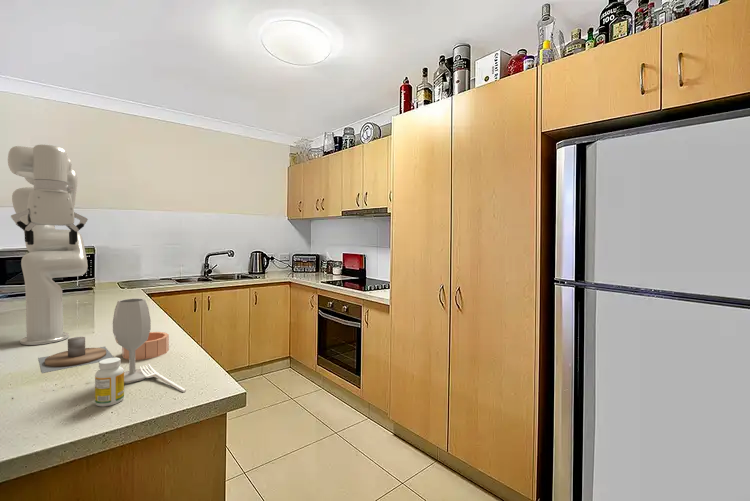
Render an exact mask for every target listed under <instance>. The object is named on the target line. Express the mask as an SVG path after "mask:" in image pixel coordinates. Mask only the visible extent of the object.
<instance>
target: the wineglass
mask: <svg viewBox="0 0 750 501" xmlns="http://www.w3.org/2000/svg"><path fill="white" fill-rule="evenodd" d="M151 322H152V321H151V314H150V310H149V305H148V304H147V300H146V299H145V298H142V297H141V298H140V297H138V298H137V297H133V298H123V299H120V300H119V299H118V300H117V302H116V305H115V308H114V313H113V319H112V333H113V336H114V339H115V342H116V344H117V345H119V346H120V347H121V348H122V347H124V348H125V349H127V350H128V351H129V359H128V361H129V362H128V364H129V365H128V366H129V367H128V368H129V369H128V370H127V371H124V385H125V384H127V385H128V384H133V383H137V382H139V381H140V382H141V381H143V380H145V379H146V378H145V375H143V374H142V372H141V370H140V368H139V369H137V368H136V360H135V350H136V349H137V348H139V347H140V346H141V345H142V344H143V343H144V342H146V341H147V340H148V337H149V333H150V332H151ZM142 369H143V368H142ZM145 369H146V370H147V368H145ZM143 371H144V372H145V370H144V369H143ZM147 371H148V370H147ZM148 372H149V371H148ZM145 373H146V372H145ZM146 374H147V373H146ZM150 374H151V373H150ZM147 375H148V374H147Z"/></svg>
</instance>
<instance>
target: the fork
mask: <svg viewBox="0 0 750 501" xmlns="http://www.w3.org/2000/svg"><path fill="white" fill-rule="evenodd" d="M139 369H140V370H141V372H142V374H143V375H145V379H149V378H153V377H154V378H156V379H158V380H159V381H162V382H163V383H165V384H167V385H169V386H171V387H172V388H175V389H176V390H177V391H180V392H181V393H186V392H187V390H186V388H184V387H182V386H181V385H180V384H177V383H176V382H174V381H172V380H170V379H168V378H167V377H165V376H164V375H162V374H161V373H160V372H158V371H157V370H155V369H154V368H153V367H152V366H151V364H150V363H147V364H144V365H143V364H142V367H141V365H139ZM143 369H144V370H145V372H146V373H147V374H148V375H147V374H146V373H145V372H144V371H143ZM146 369H147V370H148V371H149V372H148V371H147V370H146ZM150 373H151V374H150Z"/></svg>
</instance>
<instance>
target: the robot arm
mask: <svg viewBox="0 0 750 501" xmlns="http://www.w3.org/2000/svg"><path fill="white" fill-rule="evenodd" d="M7 164H8V169H9V171H11V173H12V174H14V175H16V176H19V177H22V178H24V180H25V181H26V182H27V183H29V184H31V185H32V186H33V187H31V186H30V187H29V186H27V187H19V188H17V189H15V190H14V191H13V193H12V195H11V200H12V207H13V210H14V212H15V213H14V214H11V215H10V218H11V219H12V221H13V222H14V223H15V225H16V226H17V227H19V228H20V229H21V230H22V231H23V234H24V243H25V247H26V250H27V251H28V253H25V254H24V255H23V256H22V258H21V262H20V265H21V270H22V274H23V280H24V287H25V317H26V318H25V319H26V320H25V324H26V325H25V327H26V330H25V331H26V336H25V337H23V338H21V339H20V344H21V345H25V346H35V345H36V346H37V345H39V346H40V345H45V344H46V345H47V344H53V343H57V342H61V341H64V340H66V339H69V337H70V334H69V333H68V332H66V331H64V308H63V307H64V306H63V301H64V300H63V297H64V296H63V289H62V287H61V285H60V284H58V282H55V281H54V280H53V279H55V278H56V279H57V278H68V277H81V276H83V275H85V274H86V272H88V267H89V266H88V259H87V253H86V249H85V248H86V247H85V243H84V240H83V235H82V234H81V233H80V232H79V231H80V230H81V229H83V228H84V227H85V224H86V223H87V222H88V220H89V219H88V218H87V217H86V216H83V215H82V214H79V213H77V212H75V210H74V208H75V205H76V197H77V192H78V191H77V190H78V189H77V188H78V176H77V172H76V171H75V169H73V168H72V160H71V158H69V156H68V153H67V151H66V150H65V149H64V148H63V147H61V146H57V145H51V144H36V145H34V146H33V147H28V146H22V145H17V146H12V147H11V148H9V151H8V154H7ZM75 219H77V220H79V222H78V223H77V224H75ZM55 226H57V227H58V226H66V227H67V229H56V227H55Z"/></svg>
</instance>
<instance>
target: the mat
mask: <svg viewBox="0 0 750 501" xmlns="http://www.w3.org/2000/svg"><path fill="white" fill-rule="evenodd" d="M98 348H103V349H105V350H106V356H104V357H103V358H101V359H99V360H96V361H93V362H89V363H85V364H81V365H75V366H67V367H49V366H46V365H45V359H46V358H47V357H49V356H50V355H47V356H42V357H38V363H39V367H40V372H41V374H46V373H50V372H55V371H61V370H66V369H67V370H68V369H71V368H76V367H82V366H86V365H92V364H96V363H98V364H99V362H100V361H101V360H104V359H107V358H115V357H114V355H112V353H111V352H110V351H109V349H108V348H107V347H106V346H100V347H98Z"/></svg>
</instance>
